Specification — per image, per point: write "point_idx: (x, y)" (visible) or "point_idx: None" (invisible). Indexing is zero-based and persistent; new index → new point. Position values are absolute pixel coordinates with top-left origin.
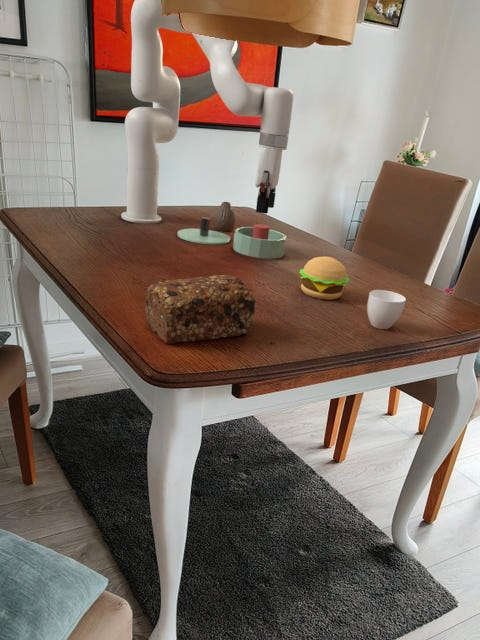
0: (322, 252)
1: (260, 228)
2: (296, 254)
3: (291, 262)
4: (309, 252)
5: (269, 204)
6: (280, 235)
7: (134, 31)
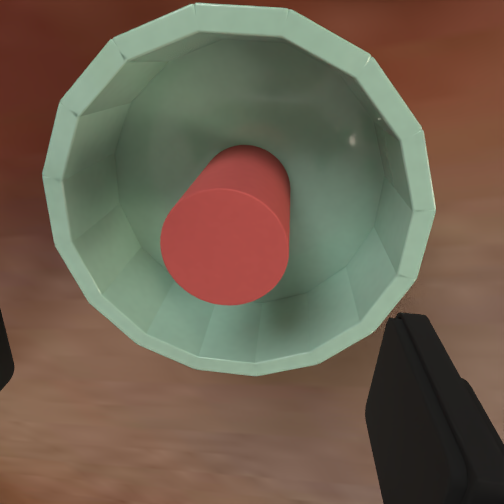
0: None
1: (162, 243)
2: (336, 359)
3: None
4: None
5: (379, 402)
6: (318, 338)
7: None
